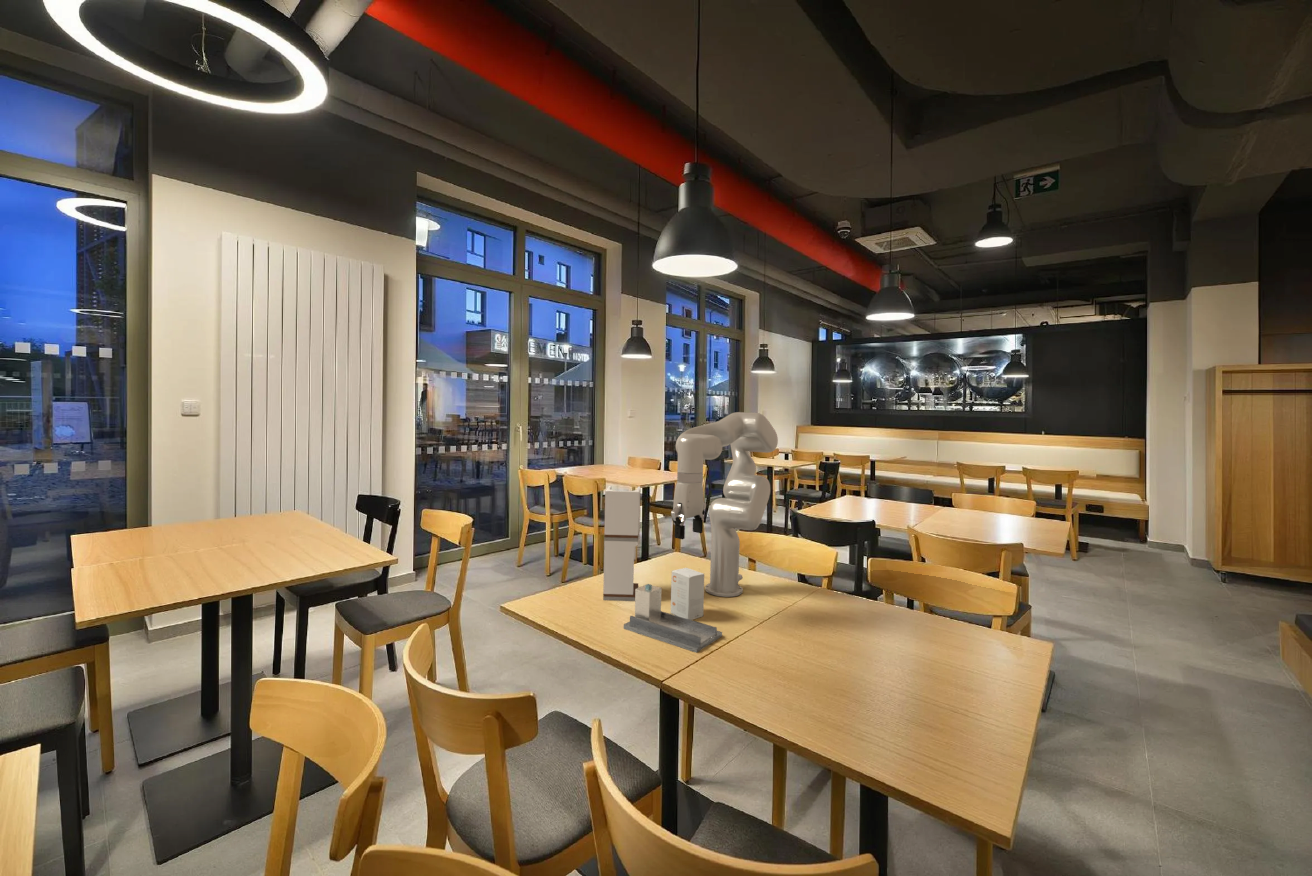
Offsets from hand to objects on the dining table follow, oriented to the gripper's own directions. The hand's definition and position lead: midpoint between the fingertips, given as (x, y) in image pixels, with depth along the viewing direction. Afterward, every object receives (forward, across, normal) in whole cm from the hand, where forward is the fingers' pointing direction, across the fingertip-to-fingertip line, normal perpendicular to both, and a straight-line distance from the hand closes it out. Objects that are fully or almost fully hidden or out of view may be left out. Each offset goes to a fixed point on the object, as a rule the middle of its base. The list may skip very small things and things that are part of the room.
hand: (688, 535), depth 166 cm
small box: (+24, 0, 0) cm, 24 cm away
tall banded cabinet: (+24, -1, -26) cm, 36 cm away
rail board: (+24, +14, +4) cm, 28 cm away
